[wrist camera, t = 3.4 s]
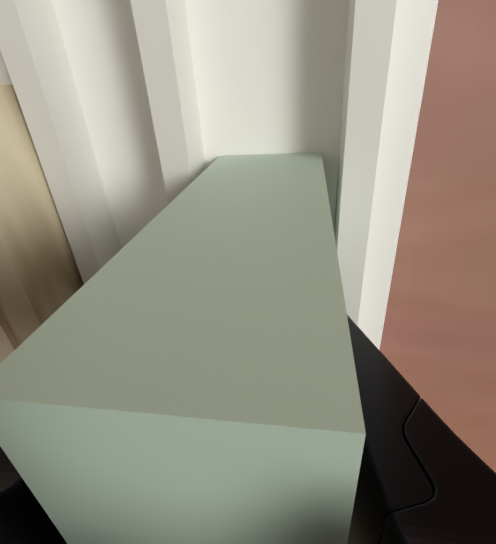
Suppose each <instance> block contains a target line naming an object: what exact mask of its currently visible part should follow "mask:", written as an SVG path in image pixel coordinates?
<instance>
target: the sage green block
mask: <svg viewBox="0 0 496 544" xmlns="http://www.w3.org/2000/svg"><path fill="white" fill-rule="evenodd" d="M365 436H366V432H365V426H364V419H363V413H362V407H361V400H360V394H359V388H358V381H357V375H356V369H355V362H354V356H353V350H352V343H351V337H350V331H349V324H348V318H347V312H346V305H345V299H344V293H343V286H342V280H341V274H340V267H339V261H338V255H337V249H336V242H335V236H334V230H333V223H332V217H331V211H330V204H329V198H328V192H327V185H326V179H325V173H324V166H323V160H322V154H321V152H310V153H282V154H254V155H226V156H219V157H218V158H217V159H216V160H215V161H214V162H213V163H212V164H211V165H210V166H209V167H208V168H207V169H206V170H204V171H203V172H202V173H201V174H200V175H199V176H198V177H197V178H196V179H195V180H194V181H193V182H192V183H191V184H190V185H189V186H188V187H187V188H185V189H184V190H183V191H182V192H181V193H180V194H179V195H178V196H177V197H176V198H175V199H174V200H173V201H172V202H171V203H170V204H169V205H168V206H166V207H165V208H164V209H163V210H162V211H161V212H160V213H159V214H158V215H157V216H156V217H155V218H154V219H153V220H152V221H151V222H150V223H149V224H147V225H146V226H145V227H144V228H143V229H142V230H141V231H140V232H139V233H138V234H137V235H136V236H135V237H134V238H133V239H132V240H131V241H130V242H128V243H127V244H126V245H125V246H124V247H123V248H122V249H121V250H120V251H119V252H118V253H117V254H116V255H115V256H114V257H113V258H112V259H111V260H109V261H108V262H107V263H106V264H105V265H104V266H103V267H102V268H101V269H100V270H99V271H98V272H97V273H96V274H95V275H94V276H93V277H92V278H90V279H89V280H88V281H87V282H86V283H85V284H84V285H83V286H82V287H81V288H80V289H79V290H78V291H77V292H76V293H75V294H74V295H73V296H71V297H70V298H69V299H68V300H67V301H66V302H65V303H64V304H63V305H62V306H61V307H60V308H59V309H58V310H57V311H56V312H55V313H54V314H52V315H51V316H50V317H49V318H48V319H47V320H46V321H45V322H44V323H43V324H42V325H41V326H40V327H39V328H38V329H37V330H36V331H35V332H33V333H32V334H31V335H30V336H29V337H28V338H27V339H26V340H25V341H24V342H23V343H22V344H21V345H20V346H19V347H18V348H17V349H16V350H14V351H13V352H12V353H11V354H10V355H9V356H8V357H7V358H6V359H5V360H4V361H3V362H2V363H1V364H0V447H1V448H2V449H3V451H4V452H5V454H6V455H7V457H8V458H9V460H10V461H11V463H12V464H13V465H14V467H15V468H16V470H17V471H18V473H19V474H20V476H21V477H22V478H23V480H24V481H25V483H26V484H27V486H28V487H29V489H30V490H31V492H32V493H33V494H34V496H35V497H36V499H37V500H38V502H39V503H40V505H41V506H42V507H43V509H44V510H45V512H46V513H47V515H48V516H49V518H50V519H51V521H52V522H53V523H54V525H55V526H56V528H57V529H58V531H59V532H60V534H61V535H62V536H63V538H64V539H65V541H66V542H67V544H347V542H348V536H349V530H350V524H351V518H352V512H353V506H354V501H355V495H356V489H357V483H358V477H359V471H360V465H361V459H362V454H363V448H364V442H365Z"/></svg>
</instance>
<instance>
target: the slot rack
mask: <svg viewBox="0 0 496 544" xmlns="http://www.w3.org/2000/svg"><path fill="white" fill-rule="evenodd" d="M437 5H438V0H0V85H6V84H13V87H14V89H15V92H16V95H17V98H18V101H19V103H20V106H21V109H22V112H23V115H24V118H25V120H26V123H27V126H28V129H29V132H30V134H31V137H32V140H33V143H34V146H35V148H36V151H37V154H38V157H39V160H40V163H41V165H42V168H43V171H44V174H45V177H46V179H47V182H48V185H49V188H50V191H51V193H52V196H53V199H54V202H55V205H56V208H57V210H58V213H59V216H60V219H61V222H62V224H63V227H64V230H65V233H66V236H67V238H68V241H69V244H70V247H71V250H72V253H73V255H74V258H75V261H76V264H77V267H78V269H79V272H80V275H81V278H82V281H83V283H84V284H85V283H86V282H87V281H88V280H89V279H90V278H92V277H93V276H94V275H95V274H96V273H97V272H98V271H99V270H100V269H101V268H102V267H103V266H104V265H105V264H106V263H107V262H108V261H109V260H111V259H112V258H113V257H114V256H115V255H116V254H117V253H118V252H119V251H120V250H121V249H122V248H123V247H124V246H125V245H126V244H127V243H128V242H130V241H131V240H132V239H133V238H134V237H135V236H136V235H137V234H138V233H139V232H140V231H141V230H142V229H143V228H144V227H145V226H146V225H147V224H149V223H150V222H151V221H152V220H153V219H154V218H155V217H156V216H157V215H158V214H159V213H160V212H161V211H162V210H163V209H164V208H165V207H166V206H168V205H169V204H170V203H171V202H172V201H173V200H174V199H175V198H176V197H177V196H178V195H179V194H180V193H181V192H182V191H183V190H184V189H185V188H187V187H188V186H189V185H190V184H191V183H192V182H193V181H194V180H195V179H196V178H197V177H198V176H199V175H200V174H201V173H202V172H203V171H204V170H206V169H207V168H208V167H209V166H210V165H211V164H212V163H213V162H214V161H215V160H216V159H217V158H218V157H219V156H226V155H254V154H282V153H310V152H321V154H322V160H323V166H324V173H325V179H326V185H327V192H328V198H329V204H330V211H331V217H332V223H333V230H334V236H335V242H336V249H337V255H338V261H339V267H340V274H341V280H342V286H343V293H344V299H345V305H346V312H347V315H348V316H349V317H350V318H351V319H352V320H353V321H354V323H355V324H356V325H357V326H358V327H359V328H360V329H361V330H362V332H363V333H364V334H365V335H366V336H367V337H368V338H369V339H370V341H371V342H372V343H373V344H374V345H375V346H376V347H377V348H378V349H380V343H381V337H382V331H383V325H384V320H385V314H386V308H387V302H388V296H389V290H390V284H391V278H392V272H393V266H394V260H395V254H396V248H397V242H398V237H399V231H400V225H401V219H402V213H403V207H404V201H405V195H406V189H407V183H408V177H409V171H410V165H411V160H412V154H413V148H414V142H415V136H416V130H417V124H418V118H419V112H420V106H421V100H422V94H423V88H424V83H425V77H426V71H427V65H428V59H429V53H430V47H431V41H432V35H433V29H434V23H435V17H436V11H437Z"/></svg>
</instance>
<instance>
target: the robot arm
mask: <svg viewBox="0 0 496 544" xmlns="http://www.w3.org/2000/svg"><path fill="white" fill-rule="evenodd" d="M347 318H348V324H349V331H350V337H351V343H352V350H353V356H354V362H355V369H356V375H357V381H358V388H359V394H360V400H361V407H362V413H363V419H364V426H365V432H366V436H365V442H364V448H363V454H362V459H361V465H360V471H359V477H358V483H357V489H356V495H355V501H354V506H353V512H352V518H351V524H350V530H349V536H348V542H347V544H496V473H495V472H494V471H493V470H492V469H491V468H490V467H489V466H488V465H486V464H485V463H484V462H483V461H482V460H481V459H480V458H479V457H478V456H477V455H476V454H475V453H474V452H473V451H472V450H471V449H470V448H469V447H468V446H467V445H466V444H465V443H464V442H463V441H462V440H461V439H460V438H459V437H458V436H457V435H456V434H455V433H454V432H453V431H452V430H451V429H450V428H449V427H448V426H447V425H446V424H445V423H444V422H443V421H442V419H441V418H440V417H439V416H438V415H437V414H436V413H435V412H434V411H433V410H432V409H431V408H430V406H429V405H428V404H427V403H426V402H425V401H424V400H423V399H420V395H419V394H418V393H417V392H416V391H415V390H414V389H413V388H412V386H411V385H410V384H409V383H408V382H407V381H406V380H405V379H404V377H403V376H402V375H401V374H400V373H399V372H398V371H397V370H396V369H395V367H394V366H393V365H392V364H391V363H390V362H389V361H388V360H387V358H386V357H385V356H384V355H383V354H382V353H381V352H380V351H379V349H378V348H377V347H376V346H375V345H374V344H373V343H372V342H371V341H370V339H369V338H368V337H367V336H366V335H365V334H364V333H363V332H362V330H361V329H360V328H359V327H358V326H357V325H356V324H355V323H354V321H353V320H352V319H351V318H350V317H349V316H348V315H347ZM0 544H67V542H66V541H65V539H64V538H63V536H62V535H61V534H60V532H59V531H58V529H57V528H56V526H55V525H54V523H53V522H52V521H51V519H50V518H49V516H48V515H47V513H46V512H45V510H44V509H43V507H42V506H41V505H40V503H39V502H38V500H37V499H36V497H35V496H34V494H33V493H32V492H31V490H30V489H29V487H28V486H27V484H26V483H25V481H24V480H23V478H22V477H21V476H20V474H19V473H18V471H17V470H16V468H15V467H14V465H13V464H12V463H11V461H10V460H9V458H8V457H7V455H6V454H5V452H4V451H3V449H2V448H1V447H0Z"/></svg>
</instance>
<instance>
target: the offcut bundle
mask: <svg viewBox="0 0 496 544" xmlns="http://www.w3.org/2000/svg"><path fill="white" fill-rule="evenodd" d="M83 285H84V283H83V281H82V278H81V275H80V272H79V269H78V267H77V264H76V261H75V258H74V255H73V253H72V250H71V247H70V244H69V241H68V238H67V236H66V233H65V230H64V227H63V224H62V222H61V219H60V216H59V213H58V210H57V208H56V205H55V202H54V199H53V196H52V193H51V191H50V188H49V185H48V182H47V179H46V177H45V174H44V171H43V168H42V165H41V163H40V160H39V157H38V154H37V151H36V148H35V146H34V143H33V140H32V137H31V134H30V132H29V129H28V126H27V123H26V120H25V118H24V115H23V112H22V109H21V106H20V103H19V101H18V98H17V95H16V92H15V89H14V87H13V84H6V85H0V364H1V363H2V362H3V361H4V360H5V359H6V358H7V357H8V356H9V355H10V354H11V353H12V352H13V351H14V350H16V349H17V348H18V347H19V346H20V345H21V344H22V343H23V342H24V341H25V340H26V339H27V338H28V337H29V336H30V335H31V334H32V333H33V332H35V331H36V330H37V329H38V328H39V327H40V326H41V325H42V324H43V323H44V322H45V321H46V320H47V319H48V318H49V317H50V316H51V315H52V314H54V313H55V312H56V311H57V310H58V309H59V308H60V307H61V306H62V305H63V304H64V303H65V302H66V301H67V300H68V299H69V298H70V297H71V296H73V295H74V294H75V293H76V292H77V291H78V290H79V289H80V288H81V287H82V286H83Z"/></svg>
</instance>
